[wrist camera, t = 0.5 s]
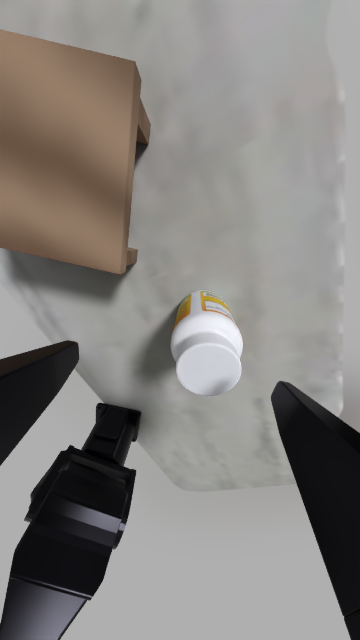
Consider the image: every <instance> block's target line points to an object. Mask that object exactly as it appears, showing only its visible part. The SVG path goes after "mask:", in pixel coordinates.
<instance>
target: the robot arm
mask: <svg viewBox="0 0 360 640" xmlns="http://www.w3.org/2000/svg"><path fill="white" fill-rule="evenodd" d="M78 360H79V346H78V343H77V342H74V341H69V340H67V341H63V342H60V343H56V344H53V345H50V346H46V347H42V348H39V349H35V350H32V351H28V352H25V353H21V354H17V355H14V356H10V357H7V358H4V359H0V465H1V464H2V463H3V462H4V460H5V459H6V458H7V457H8V456H9V454H10V453H11V452H12V450H13V449H14V448H15V447H16V445H17V444H18V443H19V441H20V440H21V439H22V438H23V436H24V435H25V434H26V433H27V432H28V430H29V429H30V428H31V426H32V425H33V424H34V423H35V422H36V420H37V419H38V418H39V416H40V415H41V414H42V413H43V411H44V410H45V409H46V408H47V406H48V405H49V404H50V403H51V401H52V400H53V399H54V397H55V396H56V395H57V393H58V392H59V390H60V389H61V388H62V386H63V385H64V383H65V382H66V380H67V379H68V377H69V375H70V374H71V372H72V371H73V369H74V368H75V366H76V365H77V363H78ZM271 401H272V405H273V410H274V414H275V418H276V422H277V426H278V430H279V433H280V437H281V440H282V443H283V446H284V449H285V451H286V454H287V457H288V460H289V463H290V466H291V469H292V471H293V474H294V477H295V480H296V483H297V486H298V488H299V491H300V494H301V497H302V500H303V503H304V506H305V509H306V511H307V514H308V517H309V520H310V523H311V526H312V528H313V532H314V534H315V537H316V540H317V543H318V546H319V549H320V552H321V554H322V557H323V560H324V563H325V566H326V569H327V572H328V574H329V577H330V580H331V583H332V585H333V589H334V592H335V594H336V597H337V600H338V603H339V606H340V609H341V612H342V614H343V616H344V621H345V624H346V627H347V629H348V632H349V635H350V638H351V640H360V433H359V432H357V431H356V430H355V429H353V428H352V427H350V426H349V425H348V424H346V423H345V422H343V421H342V420H341V419H339V418H338V417H337V416H335V415H334V414H332V413H331V412H330V411H328V410H327V409H325V408H324V407H323V406H321V405H320V404H318V403H317V402H316V401H314V400H313V399H311V398H310V397H309V396H307V395H306V394H304V393H303V392H302V391H300V390H299V389H297V388H296V387H295V386H293V385H292V384H290V383H288V382H283V381H279V382H278V383H277V385H276V387H275V389H274V391H273V393H272V395H271ZM140 418H141V412H139V411H136V410H131V409H127V408H122V407H117V406H113V405H108V404H104V403H98V404H97V406H96V424H95V426H94V427H93V429H92V431H91V433H90V435H89V437H88V438H87V440H86V442H85V444H84V446H83V447H82V450H79V449H77V448H74V446H72V445H70V446H69V447H68V449H67V450H66V451H61V452H60V454H59V455H58V457H57V458H56V460H55V461H54V463H53V464H52V466H51V467H50V469H49V470H48V471H47V472H46V474H45V475H44V476H43V478H42V479H41V480H40V482H39V483H38V484H37V485H36V487H35V488H34V490H33V491H32V493H31V504H30V506H29V511H28V513H27V515H26V517H25V519H24V521H27V522H30V524H29V526H28V528H27V530H26V531H25V533H24V535H23V537H22V538H21V540H20V542H19V543H18V545H17V547H16V549H15V552H14V556H13V561H12V566H11V571H10V577H9V582H8V587H7V593H6V598H5V603H4V608H3V614H2V619H1V623H0V640H60V639H61V637H62V636H63V634H64V633H65V631H66V630H67V629H68V627H69V626H70V624H71V623H72V621H73V620H74V619H75V617H76V616H77V614H78V613H79V611H80V610H81V609H82V607H83V606H84V604H85V603H86V601H87V600H91V598H92V597H93V596H94V594H95V592H96V591H97V589H98V588H99V586H100V584H101V583H102V581H103V579H104V575H105V572H106V568H107V565H108V561H109V558H110V555H111V552H112V549H116V547H117V546H118V544H119V542H120V539H121V537H122V534H123V532H124V529H125V526H126V522H127V519H128V515H129V510H130V505H131V500H132V494H133V488H134V482H135V476H136V470H134V469H129V468H126V467H124V463H125V460H126V457H127V454H128V451H129V448H130V444H131V441H132V442H135V441H136V440H137V435H138V429H139V423H140Z"/></svg>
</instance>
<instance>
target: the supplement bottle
mask: <svg viewBox="0 0 360 640" xmlns="http://www.w3.org/2000/svg"><path fill="white" fill-rule="evenodd" d="M242 348H243V342H242V337H241V334H240V331H239V329H238V327H237V325H236V323H235V321H234V319H233V317H232V315H231V313H230V311H229V309H228V307H227V305H226V303H225V301H224V300H223V299H222V298H221V297H220V296H219V295H217V294H216V293H214V292H211V291H206V290H201V291H196V292H193V293H191V294H189V295H188V296H187V297H185V298H184V300H183V301H182V302H181V304H180V306H179V309H178V312H177V317H176V321H175V325H174V329H173V332H172V337H171V352H172V355H173V358H174V360H175V361H176V374H177V377H178V380H179V381H180V383H181V384H182V385H183V386H184V387H185V388H186V389H187V390H189V391H191V392H193V393H195V394H199V395H205V396H213V395H218V394H222V393H224V392H226V391H228V390H230V389H231V388H232V387H233V386H235V384H236V383H237V382H238V380H239V378H240V375H241V363H240V359H239V358H240V356H241V353H242Z"/></svg>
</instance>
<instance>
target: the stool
mask: <svg viewBox="0 0 360 640" xmlns="http://www.w3.org/2000/svg"><path fill="white" fill-rule="evenodd" d="M140 90H141V78H140V75H139V72H138V69H137V66H136V63H135V61H131V60H127V59H123V58H119V57H115V56H110V55H106V54H102V53H98V52H93V51H89V50H85V49H81V48H76V47H72V46H68V45H64V44H59V43H55V42H51V41H47V40H43V39H38V38H34V37H30V36H26V35H21V34H17V33H13V32H9V31H4V30H0V248H5V249H9V250H14V251H18V252H23V253H27V254H31V255H36V256H40V257H45V258H49V259H54V260H58V261H63V262H67V263H72V264H76V265H80V266H85V267H89V268H94V269H98V270H103V271H107V272H112V273H116V274H122V273H124V272H126V266H128V265H130V264H133V263H136V261H137V251H138V250H136V249H132V248H128V237H129V224H130V212H131V200H132V188H133V176H134V163H135V151H136V142H139V143H144V144H148V145H149V135H150V125H151V124H150V122H149V119H148V117H147V114H146V112H145V109H144V107H143V104H142V101H141V99H140Z"/></svg>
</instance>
